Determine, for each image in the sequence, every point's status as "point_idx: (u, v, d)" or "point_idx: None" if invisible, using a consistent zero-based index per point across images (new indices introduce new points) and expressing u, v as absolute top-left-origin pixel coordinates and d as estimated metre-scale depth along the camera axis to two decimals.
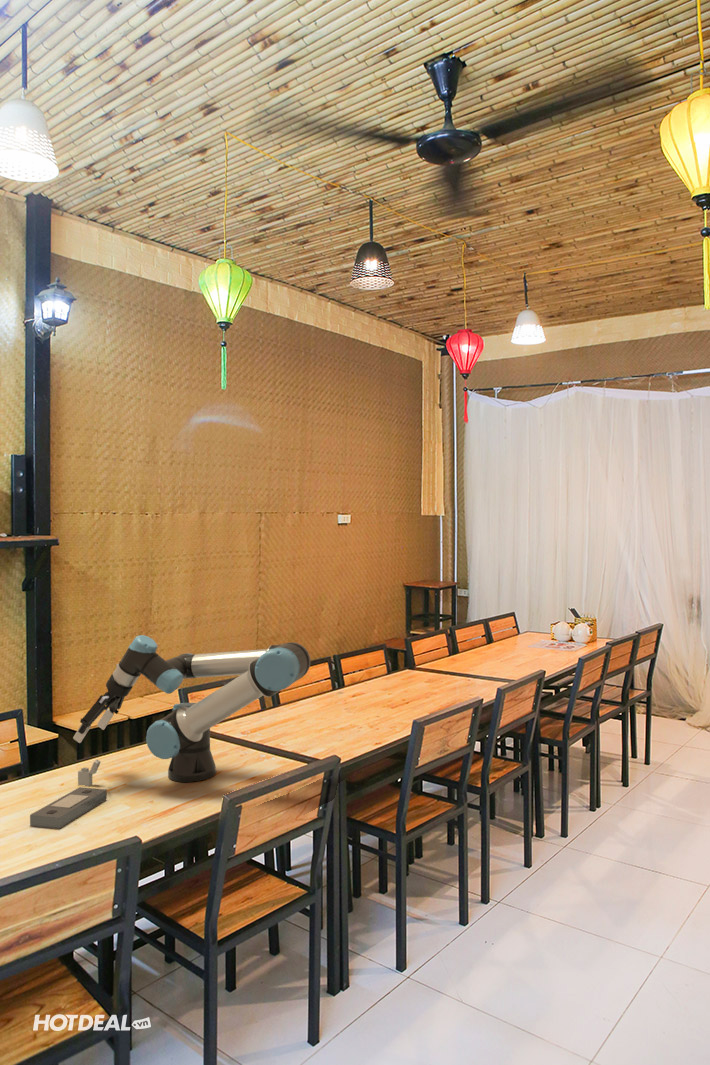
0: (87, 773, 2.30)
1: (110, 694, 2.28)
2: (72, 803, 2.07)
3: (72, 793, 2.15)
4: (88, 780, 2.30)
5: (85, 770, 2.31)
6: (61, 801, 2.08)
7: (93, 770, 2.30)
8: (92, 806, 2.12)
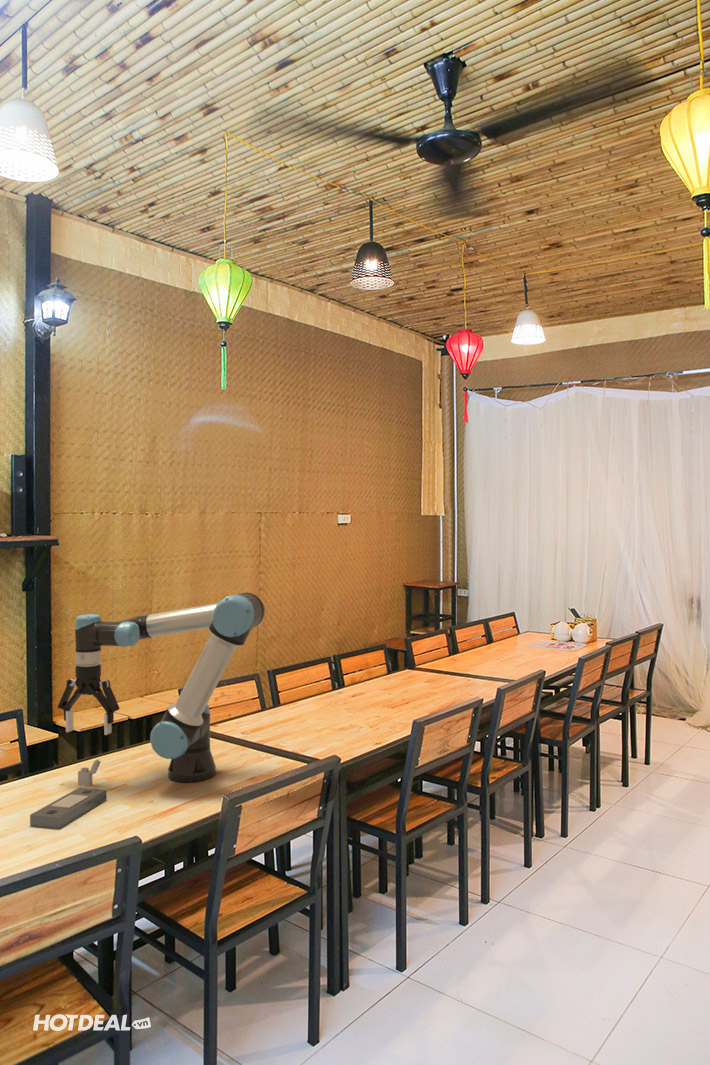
0: (87, 773, 2.30)
1: (99, 678, 2.31)
2: (72, 803, 2.07)
3: (72, 793, 2.15)
4: (88, 780, 2.30)
5: (85, 770, 2.31)
6: (61, 801, 2.08)
7: (93, 770, 2.30)
8: (92, 806, 2.12)
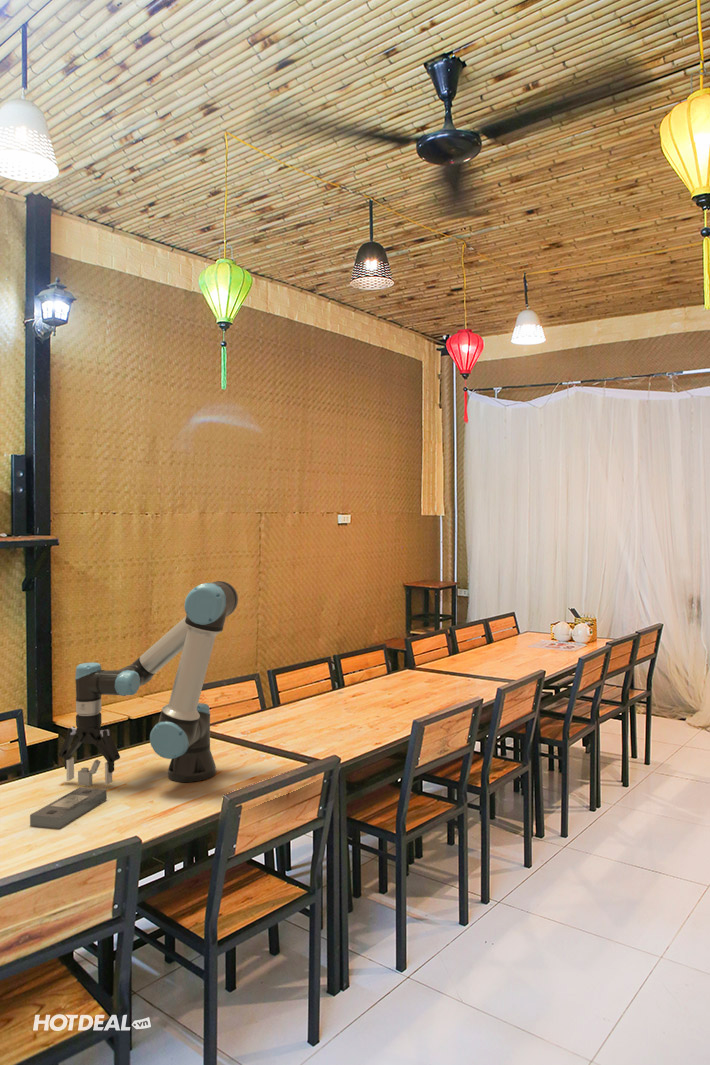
0: (87, 773, 2.30)
1: (100, 727, 2.31)
2: (72, 803, 2.07)
3: (72, 793, 2.15)
4: (88, 780, 2.30)
5: (85, 770, 2.31)
6: (61, 801, 2.08)
7: (93, 770, 2.30)
8: (92, 806, 2.12)
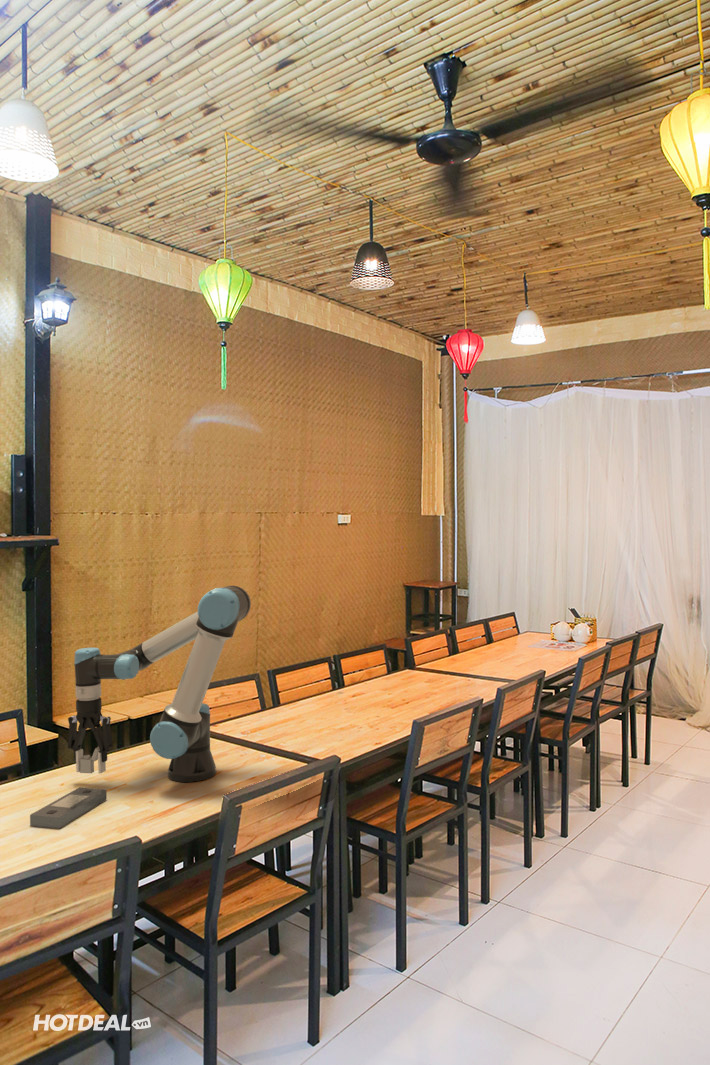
0: (88, 760, 2.30)
1: None
2: (72, 803, 2.07)
3: (72, 793, 2.15)
4: (90, 767, 2.30)
5: (86, 757, 2.31)
6: (61, 801, 2.08)
7: (94, 757, 2.30)
8: (92, 806, 2.12)
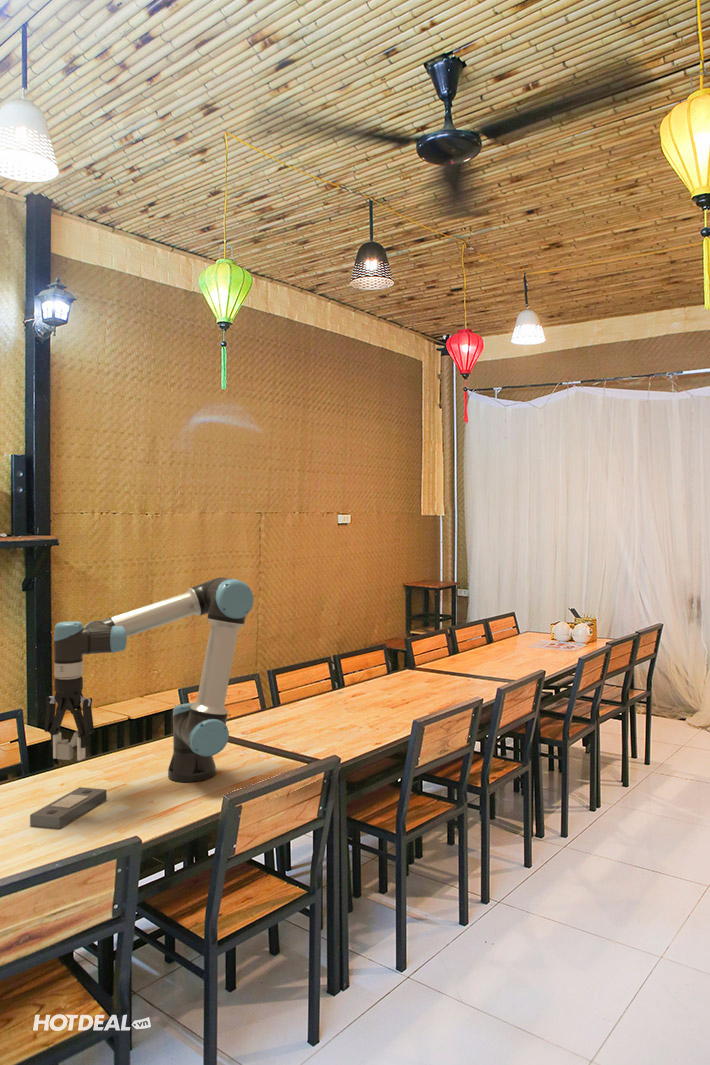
0: (67, 745, 2.08)
1: None
2: (72, 803, 2.07)
3: (72, 793, 2.15)
4: (68, 753, 2.08)
5: (64, 742, 2.09)
6: (61, 801, 2.08)
7: (73, 742, 2.08)
8: (92, 806, 2.12)
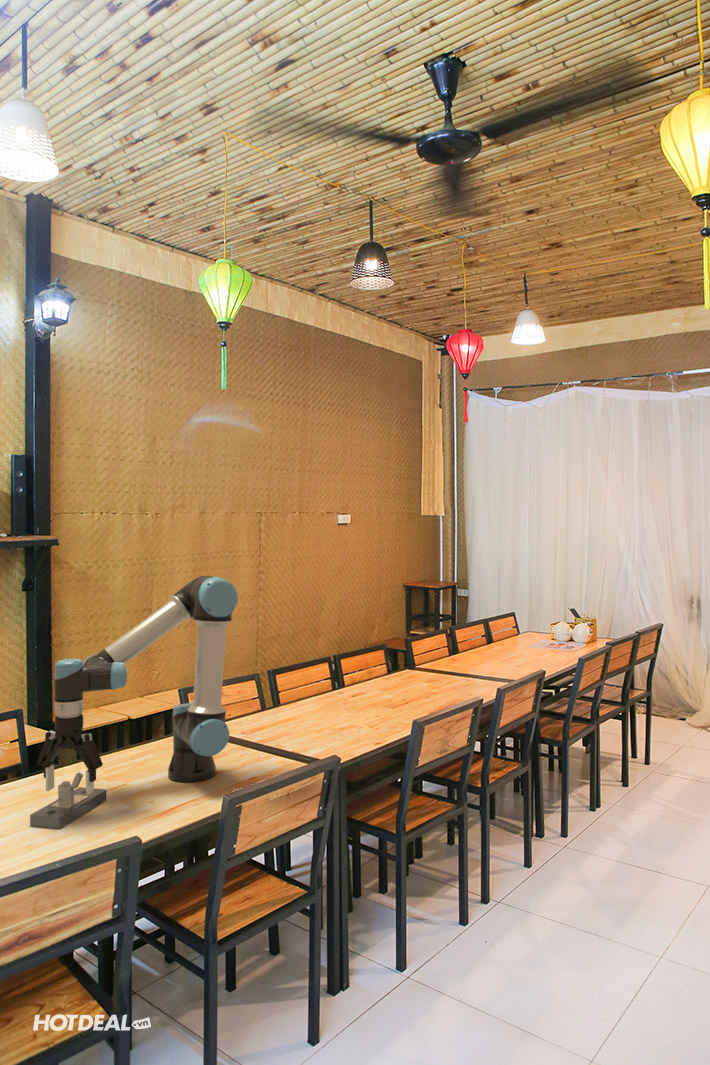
0: (68, 787, 2.08)
1: (81, 730, 2.08)
2: (72, 803, 2.07)
3: None
4: (69, 795, 2.08)
5: (66, 784, 2.09)
6: (61, 801, 2.08)
7: (75, 784, 2.08)
8: (92, 806, 2.12)
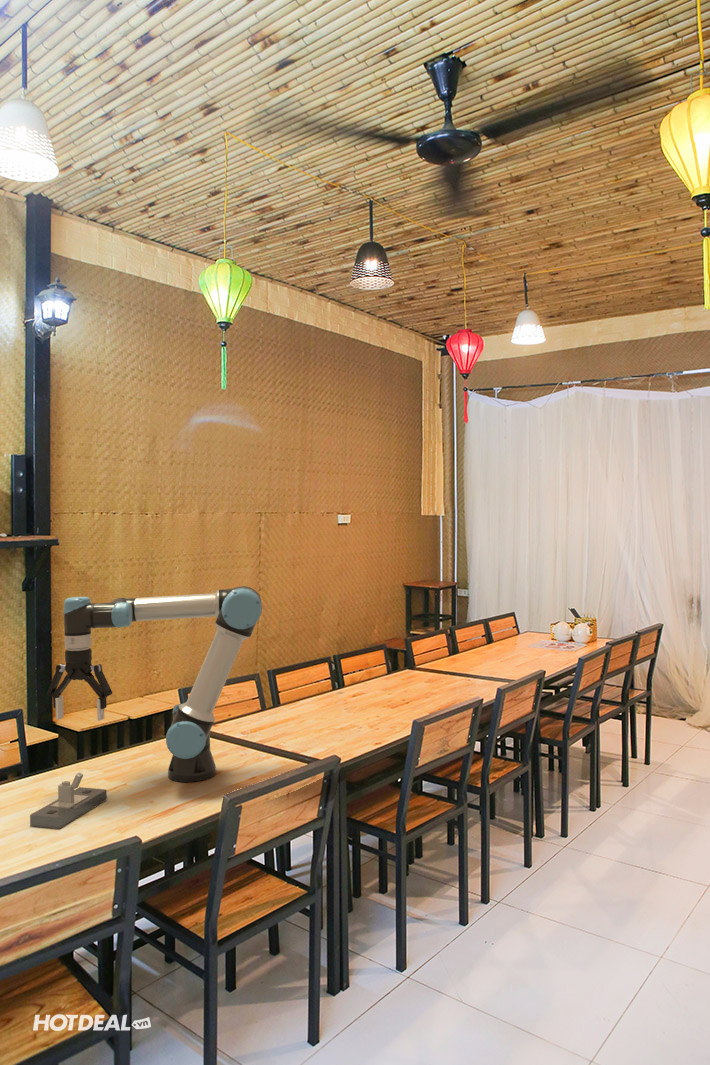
0: (68, 787, 2.08)
1: (90, 662, 2.22)
2: (72, 803, 2.07)
3: None
4: (69, 795, 2.08)
5: (66, 784, 2.09)
6: (61, 801, 2.08)
7: (75, 784, 2.08)
8: (92, 806, 2.12)
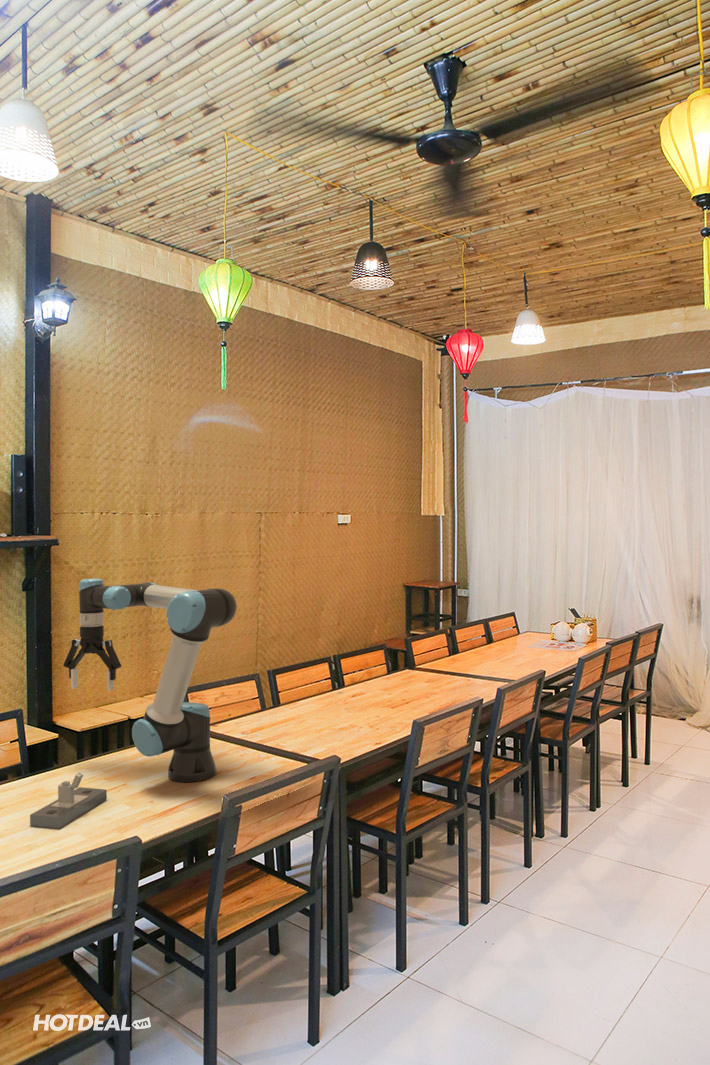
0: (68, 787, 2.08)
1: (102, 638, 2.46)
2: (72, 803, 2.07)
3: None
4: (69, 795, 2.08)
5: (66, 784, 2.09)
6: (61, 801, 2.08)
7: (75, 784, 2.08)
8: (92, 806, 2.12)
